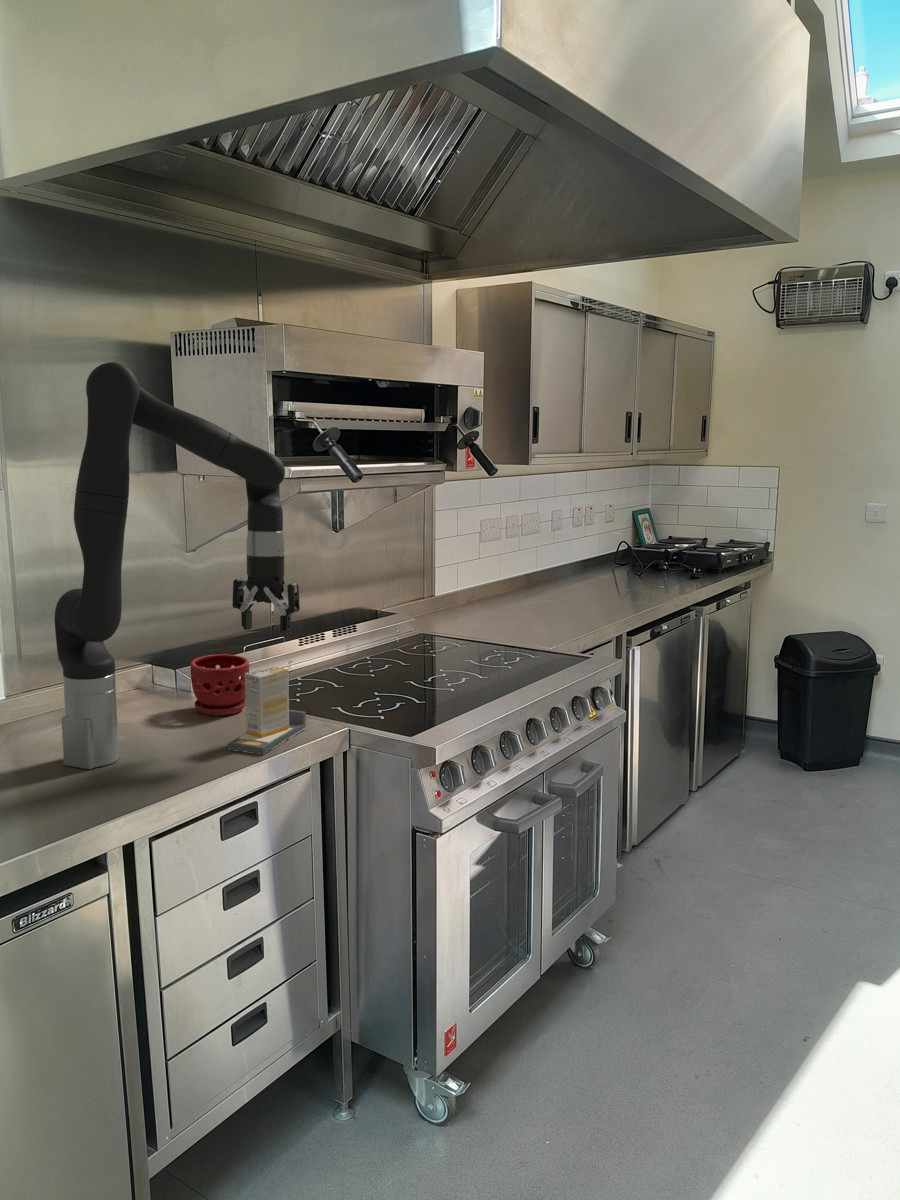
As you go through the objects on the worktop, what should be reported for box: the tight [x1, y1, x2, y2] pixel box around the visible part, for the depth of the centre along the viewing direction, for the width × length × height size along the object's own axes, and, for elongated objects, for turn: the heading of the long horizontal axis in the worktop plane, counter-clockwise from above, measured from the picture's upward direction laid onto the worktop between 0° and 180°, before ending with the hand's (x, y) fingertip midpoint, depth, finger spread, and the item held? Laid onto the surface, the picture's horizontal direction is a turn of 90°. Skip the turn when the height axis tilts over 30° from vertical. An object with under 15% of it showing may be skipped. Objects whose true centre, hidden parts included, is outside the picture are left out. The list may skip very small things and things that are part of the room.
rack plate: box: [227, 709, 307, 755], centre depth 188 cm, size 18×8×4 cm, turn 161°
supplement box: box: [244, 665, 290, 738], centre depth 187 cm, size 8×5×13 cm, turn 144°
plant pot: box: [190, 653, 250, 716], centre depth 207 cm, size 13×13×12 cm
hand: (266, 631), depth 184 cm, fingers open, 8 cm apart
